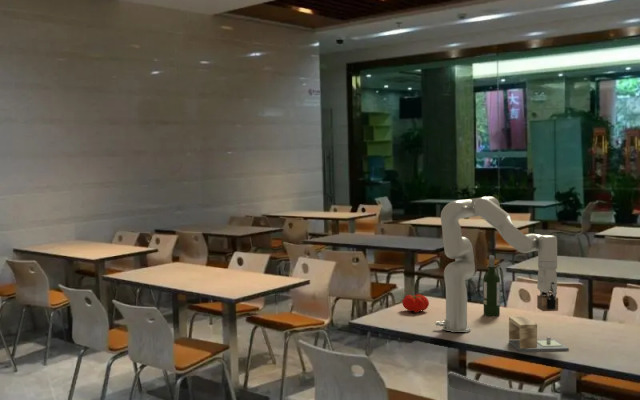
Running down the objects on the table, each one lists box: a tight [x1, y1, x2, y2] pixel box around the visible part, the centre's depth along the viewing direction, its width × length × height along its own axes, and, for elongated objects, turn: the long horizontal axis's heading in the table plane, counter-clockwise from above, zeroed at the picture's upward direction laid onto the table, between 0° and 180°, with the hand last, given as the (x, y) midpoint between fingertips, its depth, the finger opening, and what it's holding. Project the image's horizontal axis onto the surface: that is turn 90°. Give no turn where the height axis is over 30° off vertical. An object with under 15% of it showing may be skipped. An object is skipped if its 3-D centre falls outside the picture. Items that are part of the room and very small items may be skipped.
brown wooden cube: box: [536, 294, 559, 312], centre depth 281 cm, size 6×6×6 cm
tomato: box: [401, 293, 430, 313], centre depth 346 cm, size 14×13×9 cm
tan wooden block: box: [508, 316, 538, 349], centre depth 278 cm, size 7×14×10 cm, turn 2°
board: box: [508, 336, 570, 353], centre depth 279 cm, size 20×14×4 cm
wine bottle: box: [483, 255, 501, 317], centre depth 337 cm, size 8×8×30 cm
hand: (547, 306), depth 281 cm, fingers closed on brown wooden cube, 6 cm apart
